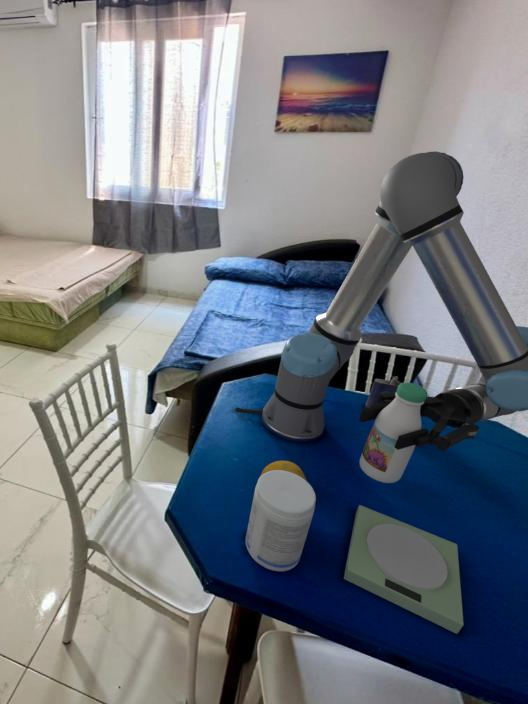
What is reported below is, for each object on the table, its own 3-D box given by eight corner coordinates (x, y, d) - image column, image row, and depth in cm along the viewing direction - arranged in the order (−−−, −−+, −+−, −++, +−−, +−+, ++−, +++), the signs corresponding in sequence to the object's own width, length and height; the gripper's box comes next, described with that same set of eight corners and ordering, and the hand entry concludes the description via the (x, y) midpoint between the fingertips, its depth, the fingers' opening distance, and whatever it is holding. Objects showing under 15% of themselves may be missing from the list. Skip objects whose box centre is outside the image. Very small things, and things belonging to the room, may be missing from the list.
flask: (365, 408, 112) (376, 375, 107) (364, 403, 114) (376, 370, 109) (403, 418, 108) (417, 384, 103) (401, 412, 111) (415, 379, 106)
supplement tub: (310, 556, 72) (331, 497, 65) (274, 584, 67) (292, 524, 60) (268, 518, 79) (282, 461, 72) (233, 541, 74) (244, 482, 67)
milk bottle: (390, 458, 86) (424, 378, 76) (407, 486, 79) (447, 402, 69) (353, 455, 86) (382, 375, 77) (366, 482, 80) (400, 399, 70)
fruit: (271, 516, 79) (279, 487, 75) (250, 485, 86) (256, 457, 82) (310, 507, 81) (319, 478, 78) (287, 478, 88) (294, 450, 84)
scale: (343, 578, 68) (348, 566, 67) (355, 513, 80) (360, 501, 79) (457, 634, 61) (466, 622, 59) (451, 553, 73) (459, 541, 72)
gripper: (509, 453, 76) (421, 482, 69) (412, 394, 93) (334, 412, 85) (528, 421, 73) (438, 449, 65) (424, 366, 89) (343, 383, 82)
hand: (379, 428), depth 75 cm, fingers closed on milk bottle, 7 cm apart
